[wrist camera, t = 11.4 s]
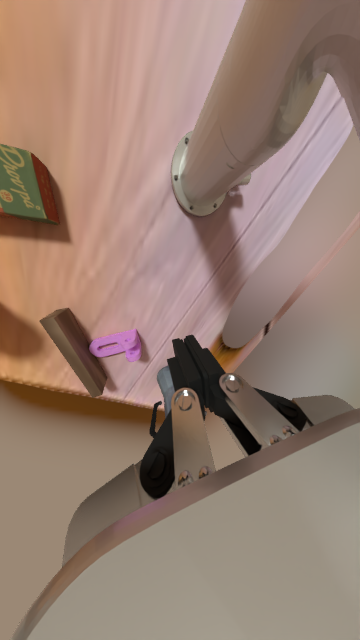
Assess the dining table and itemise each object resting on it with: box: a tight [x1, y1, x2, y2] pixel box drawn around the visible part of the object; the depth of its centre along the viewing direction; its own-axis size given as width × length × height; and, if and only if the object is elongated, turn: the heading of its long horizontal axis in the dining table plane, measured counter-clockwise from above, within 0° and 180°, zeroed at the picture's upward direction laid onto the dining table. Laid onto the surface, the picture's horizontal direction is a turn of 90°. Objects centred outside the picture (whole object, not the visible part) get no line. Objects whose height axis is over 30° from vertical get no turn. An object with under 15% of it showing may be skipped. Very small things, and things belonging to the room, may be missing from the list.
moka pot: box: [150, 366, 207, 438], centre depth 40 cm, size 10×15×20 cm, turn 105°
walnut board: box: [40, 308, 107, 398], centre depth 34 cm, size 2×24×6 cm, turn 8°
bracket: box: [89, 329, 141, 362], centre depth 35 cm, size 13×6×7 cm, turn 98°
